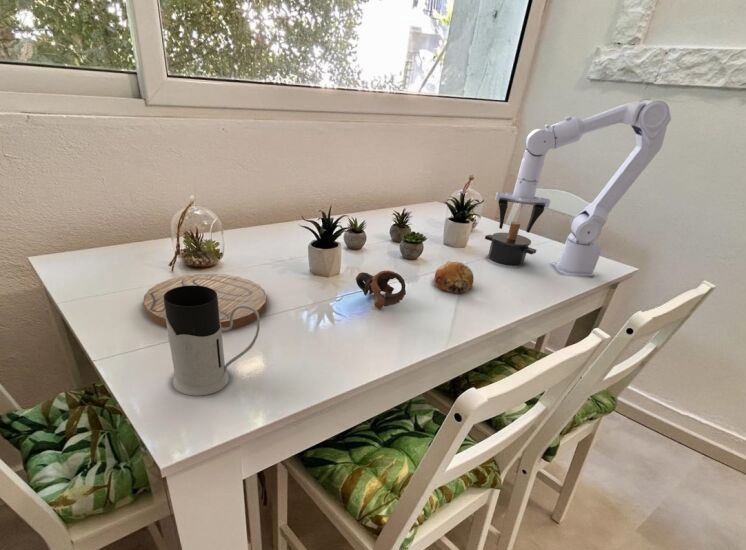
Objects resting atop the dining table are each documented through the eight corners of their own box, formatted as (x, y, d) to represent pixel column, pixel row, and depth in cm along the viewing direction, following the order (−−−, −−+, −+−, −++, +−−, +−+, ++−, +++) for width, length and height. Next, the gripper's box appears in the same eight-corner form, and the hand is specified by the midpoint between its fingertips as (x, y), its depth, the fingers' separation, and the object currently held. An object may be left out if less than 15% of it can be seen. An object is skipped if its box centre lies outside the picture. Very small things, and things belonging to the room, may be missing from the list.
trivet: (225, 343, 86) (224, 334, 85) (116, 314, 92) (114, 305, 91) (286, 295, 106) (286, 287, 104) (193, 273, 112) (192, 266, 110)
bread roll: (470, 299, 121) (479, 269, 120) (466, 296, 112) (476, 263, 110) (434, 290, 124) (443, 261, 123) (427, 286, 115) (436, 254, 113)
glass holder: (179, 365, 79) (166, 282, 70) (263, 366, 81) (260, 286, 72) (167, 395, 72) (151, 307, 63) (260, 396, 74) (256, 311, 65)
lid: (504, 234, 142) (509, 215, 138) (537, 244, 135) (543, 225, 132) (483, 239, 135) (488, 220, 132) (517, 250, 129) (523, 231, 125)
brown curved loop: (403, 296, 112) (413, 275, 104) (391, 326, 107) (402, 306, 100) (357, 277, 111) (365, 254, 104) (344, 306, 107) (351, 285, 100)
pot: (492, 250, 146) (497, 230, 142) (537, 266, 137) (544, 245, 133) (473, 256, 140) (478, 235, 136) (519, 273, 131) (526, 251, 127)
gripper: (501, 178, 123) (488, 229, 131) (557, 185, 121) (541, 237, 129) (500, 174, 129) (488, 223, 137) (554, 180, 127) (538, 230, 134)
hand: (514, 229), depth 133 cm, fingers open, 7 cm apart
